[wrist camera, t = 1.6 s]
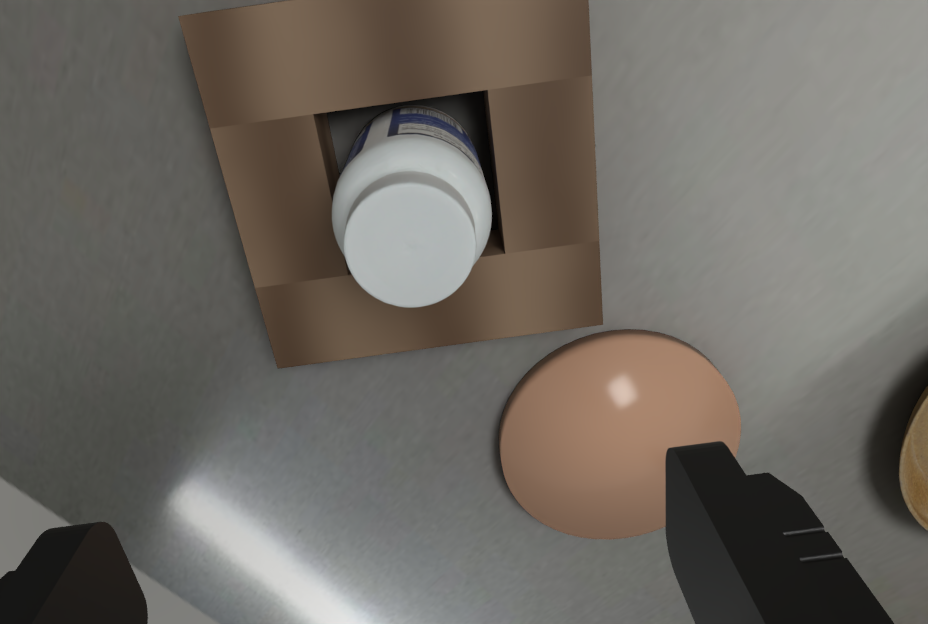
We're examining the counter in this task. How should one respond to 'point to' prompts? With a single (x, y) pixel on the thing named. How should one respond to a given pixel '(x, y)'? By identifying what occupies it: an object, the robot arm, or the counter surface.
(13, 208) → the counter surface
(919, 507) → the plant saucer
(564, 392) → the salmon pink disc
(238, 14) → the block
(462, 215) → the pill bottle
